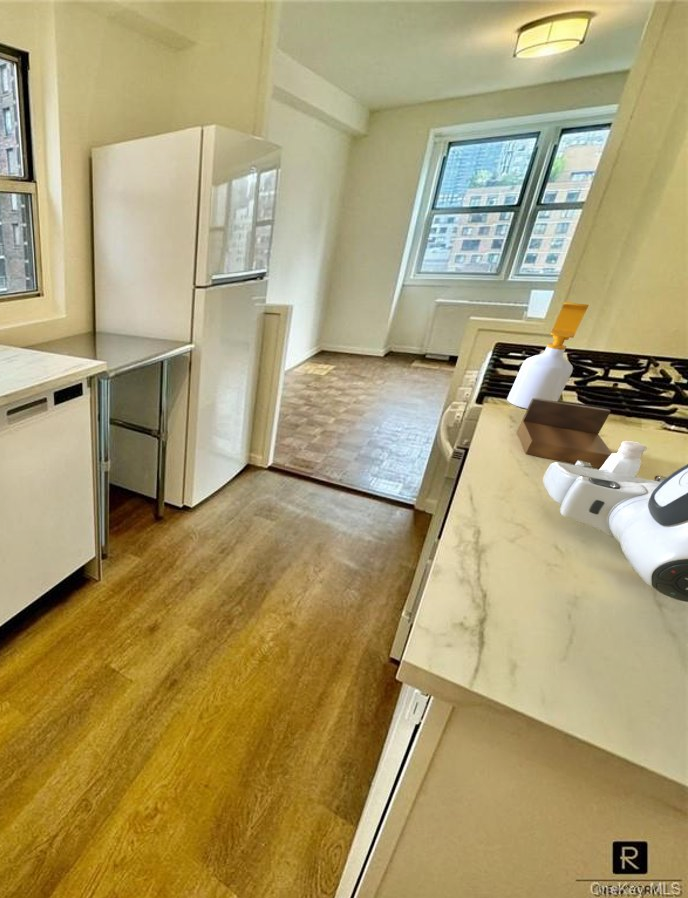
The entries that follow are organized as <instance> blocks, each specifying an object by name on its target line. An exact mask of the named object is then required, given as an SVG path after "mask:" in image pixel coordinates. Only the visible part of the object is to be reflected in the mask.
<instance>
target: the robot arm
mask: <svg viewBox="0 0 688 898" xmlns="http://www.w3.org/2000/svg"><path fill="white" fill-rule="evenodd" d="M542 484H543V486H544V488H545V490H546V491H547V493H548V496H550V498H551V499H552V500H553V501H554V502H555V503H557V504H559V505H561V506H560V508H559V513H560V514H561V515H562V516H563V517H565V518H568V519H570V520H572V521H576V522H578V523H582V524H583V525H586V526H589V527H592V528H593V529H596V530H598V531H600V532H602V533H604V534H606V535H608V536H610V537H612V538H615V540H616V541H617V542H618V543H619V544H620V548H621V551H622V553H623V555H624V557H625V558H626V560H627V561H628V563H629V565H630V566H631V568H632V569H633V571H635V573H636V574H637V575H638V576H639V577H640V579H642V580H643V582H645V583H646V584H647V585H648V586H649V587H650V588H651V589H653V590H655V591H656V592H658V593H659V594H662V595H663V596H666V597H669V598H671V599H674V600H676V601H680V602H681V601H682V602H686V603H688V463H687V464H685V465H683V466H682V467H680V468H679V469H677V470H675V471H674V472H672V473H671V474H669V475H668V476H663V475H655V476H654V479H653V480H652V479H649V478H642V477H638V476H636V477H632V476H627V475H622V474H617V473H612V472H607V471H601V470H599V469H597V468H593V467H592V465H591V464H590V463H589V462H584V461H579V460H578V461H577V462H576V464H572V463H566V462H562V461H555V462H552V463H550V464H549V466H548V467H547V468H546V470H545V472H544V475H543V478H542Z"/></svg>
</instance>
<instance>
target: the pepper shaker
mask: <svg viewBox="0 0 688 898" xmlns="http://www.w3.org/2000/svg"><path fill="white" fill-rule="evenodd" d="M647 450H648V448H647V446H646V445H645V444H643V443H640V442H637V441H632V440H624V441H622V442H621V444H620V447H619V448H618V450H617V452H612V454H611V455H610V456H609V458H608V459H607V460H606V462H605V463H604V464H603V465H602V467H601V468H598V470H601V471H607V472H612V473H617V474H622V475H627V476H632V477H637V475H638V473H639V471H640V468H641V466H642V460H641V457H642V456H643V454H644V453H645V451H647Z"/></svg>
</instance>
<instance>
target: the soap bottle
mask: <svg viewBox="0 0 688 898" xmlns="http://www.w3.org/2000/svg"><path fill="white" fill-rule="evenodd" d="M588 308H589V304H584V303H575V302H563V304H562V307H561V310H560V311H559V313H558V316H557V319H556V321H555V323H554V325H553V327H552V330H550V331H551V332H550V333H549V334H550V335H551V336H552V338H553V339H554V340H553V342H552V343H551V342H550V343H547V345H546V347H545V349H544V352H543V353H539V354H535V355H533V356H530V357H527V358H526V359H525V360H524V361H523V362H522V364H521V366H520V368H519V371H518V372H517V375H516V378H515V380H514V382H513V384H512V387H511V389H510V391H509V393H508V395H507V397H506V400H507V402H508V403H510V404H511V405H513V406H516V407H518V408H520V409H521V408H522V409H525V410H527V409H528V406H529V404H530V402H531V400H532V398H537V399H544V400H550V401H557V402H559V399H561V398H560V397H561V395H562V393H563V392H564V389H565V388H566V385H567V384H568V381H569V379H570V378H571V375H572V373H573V371H574V369H573V366H574V365H572V364H571V363H570V361H569V360H567V359H566V358H565V357H564V353H565V351H566V349H567V345H564V343H565V341H568V340H569V339H570V338H572V339H574V337H575V335H576V332H577V330H578V328H579V326H580V324H581V322H582V320H583V318H584V316H585V315H586V312H587V310H588Z"/></svg>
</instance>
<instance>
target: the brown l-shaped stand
mask: <svg viewBox="0 0 688 898" xmlns="http://www.w3.org/2000/svg"><path fill="white" fill-rule="evenodd" d="M610 414H611V410H610V409H609V408H603V407H595V406H589V405H581V404H576V403H569V402H564V401H558V402H557V401H550V400H544V399H537V398H532V400H531V402H530V404H529V406H528V409H526V411H525V413H524V415H523V417H522V419H521V422H520V424H519V426H518V428H517V429H516V434H517V436H518V438H519V441H520V444H521V446H522V449H523V451H524V453H525V455H530V456H534V457H540V458H545V459H548V460H554V461H558V462H563V463H568V464H573V465H575V464H576V462H577V461H578V460H579V461H584V462H589V463H590V464H591V465H592V467H591V468H594V469H600V468H601V467H602V465H603V464H604V463H605V462H606V460H607V459H608V458H609V456H610V455H611V454H612V453H613V452H612V451H611V450H610V448H609V447H608V445H607V444H606V443H605V441H604V440H603V439H602V437H601V436H600V432H601V430H602V428H603V426H604V425H605V424H606V421H607V420H608V417H609V416H610Z"/></svg>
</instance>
